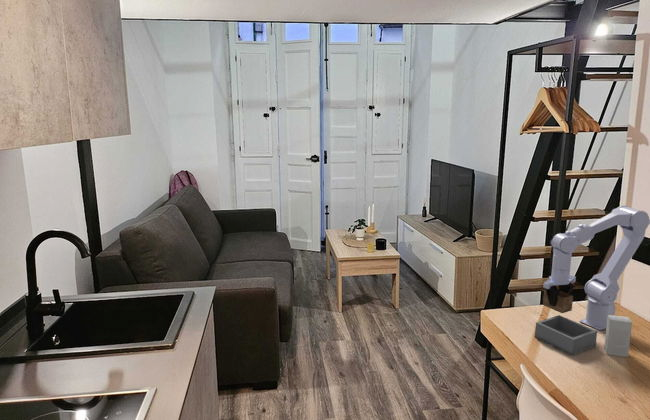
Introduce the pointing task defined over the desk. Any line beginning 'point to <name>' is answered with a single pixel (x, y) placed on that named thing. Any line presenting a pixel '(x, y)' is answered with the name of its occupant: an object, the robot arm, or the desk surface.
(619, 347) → the skincare box
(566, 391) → the desk surface
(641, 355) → the desk surface
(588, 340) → the big crate
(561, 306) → the small crate
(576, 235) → the robot arm
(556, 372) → the desk surface
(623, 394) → the desk surface
